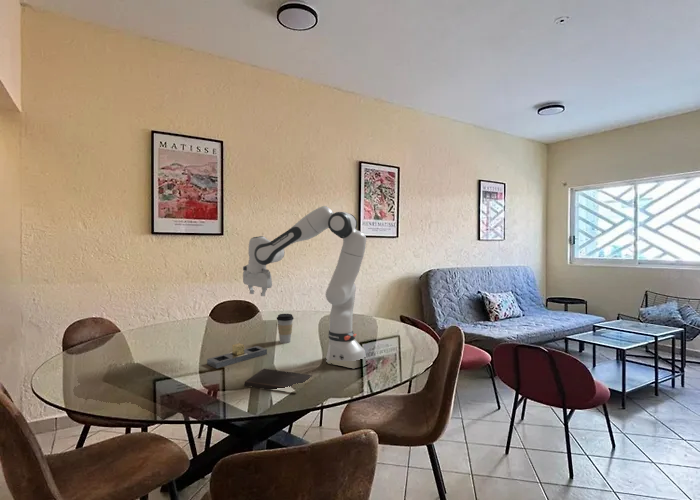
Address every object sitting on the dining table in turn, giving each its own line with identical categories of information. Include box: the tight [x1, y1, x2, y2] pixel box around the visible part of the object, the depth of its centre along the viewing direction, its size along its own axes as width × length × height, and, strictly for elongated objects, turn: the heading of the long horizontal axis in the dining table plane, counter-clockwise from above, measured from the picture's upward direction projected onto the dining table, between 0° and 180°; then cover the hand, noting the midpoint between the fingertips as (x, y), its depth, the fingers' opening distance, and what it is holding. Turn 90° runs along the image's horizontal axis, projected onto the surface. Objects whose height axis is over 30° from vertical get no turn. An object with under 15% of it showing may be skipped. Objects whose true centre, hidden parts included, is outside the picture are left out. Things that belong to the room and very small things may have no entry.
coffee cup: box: [276, 313, 295, 344], centre depth 224 cm, size 9×9×15 cm
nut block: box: [231, 342, 245, 356], centre depth 195 cm, size 4×4×7 cm
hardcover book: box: [244, 368, 313, 390], centre depth 167 cm, size 16×23×2 cm
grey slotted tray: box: [206, 345, 268, 369], centre depth 195 cm, size 8×28×3 cm, turn 139°
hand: (257, 294), depth 206 cm, fingers open, 8 cm apart
